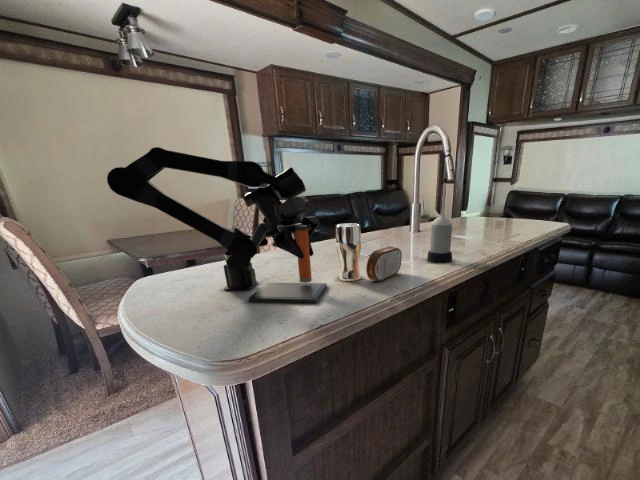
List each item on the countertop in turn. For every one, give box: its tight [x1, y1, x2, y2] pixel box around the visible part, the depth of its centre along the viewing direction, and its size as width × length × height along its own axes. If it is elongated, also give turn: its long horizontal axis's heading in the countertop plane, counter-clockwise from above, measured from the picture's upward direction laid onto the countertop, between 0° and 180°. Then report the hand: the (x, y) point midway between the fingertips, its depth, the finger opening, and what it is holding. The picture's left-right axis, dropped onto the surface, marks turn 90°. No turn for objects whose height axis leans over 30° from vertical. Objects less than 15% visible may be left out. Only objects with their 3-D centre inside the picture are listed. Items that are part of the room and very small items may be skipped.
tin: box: [365, 245, 403, 282], centre depth 89 cm, size 15×3×8 cm, turn 144°
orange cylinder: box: [295, 225, 312, 283], centre depth 79 cm, size 3×3×14 cm
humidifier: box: [427, 182, 453, 264], centre depth 104 cm, size 8×8×25 cm
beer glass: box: [335, 222, 362, 282], centre depth 88 cm, size 7×7×15 cm
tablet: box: [248, 282, 328, 304], centre depth 78 cm, size 16×12×1 cm
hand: (307, 256), depth 78 cm, fingers closed on orange cylinder, 3 cm apart
